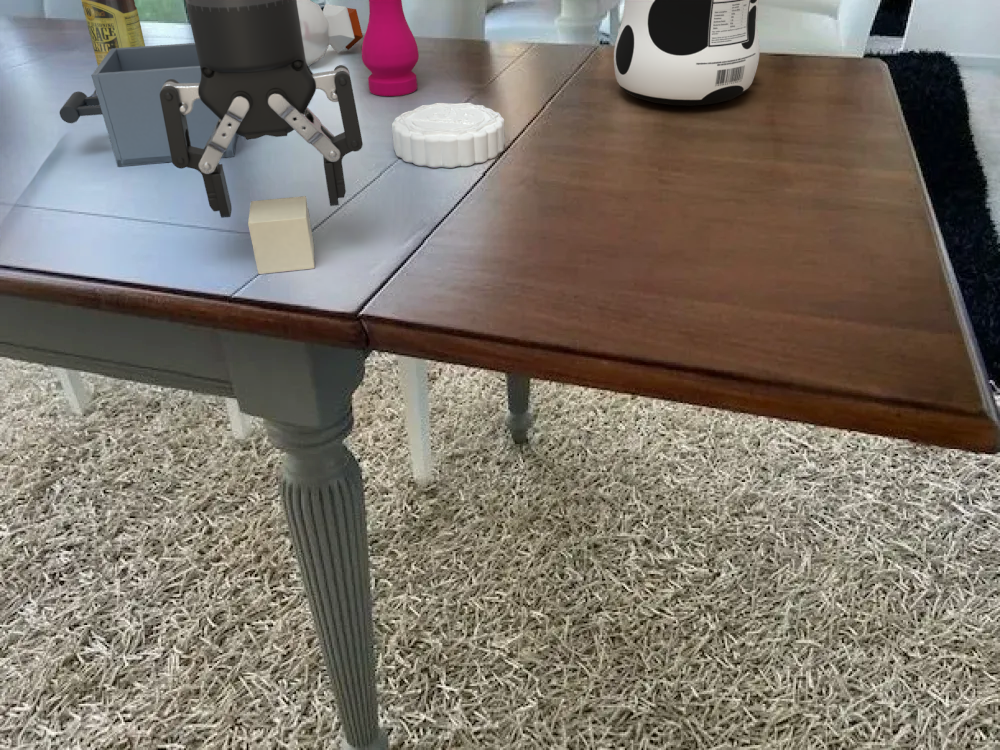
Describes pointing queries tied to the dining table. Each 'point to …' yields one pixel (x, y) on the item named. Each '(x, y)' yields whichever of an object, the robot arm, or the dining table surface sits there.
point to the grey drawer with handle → (143, 102)
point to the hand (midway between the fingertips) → (280, 208)
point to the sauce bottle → (112, 25)
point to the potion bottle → (327, 28)
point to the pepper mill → (389, 50)
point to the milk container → (687, 50)
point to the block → (281, 235)
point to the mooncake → (448, 135)
